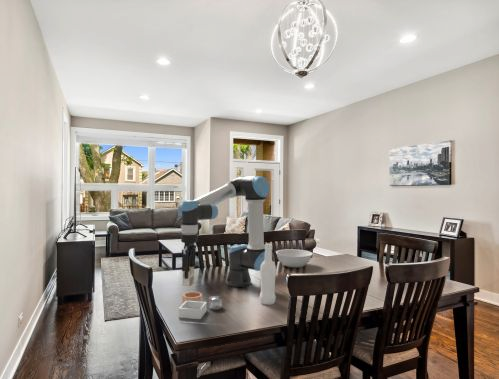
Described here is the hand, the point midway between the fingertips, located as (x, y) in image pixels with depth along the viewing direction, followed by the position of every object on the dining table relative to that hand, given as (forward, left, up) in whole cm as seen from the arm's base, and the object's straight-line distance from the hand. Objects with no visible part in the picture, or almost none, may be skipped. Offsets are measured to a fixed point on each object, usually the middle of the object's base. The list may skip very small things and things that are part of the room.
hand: (188, 283), depth 157 cm
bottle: (-36, -19, -13) cm, 42 cm away
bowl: (-49, -100, -13) cm, 112 cm away
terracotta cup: (0, -8, -13) cm, 16 cm away
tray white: (-4, +4, -13) cm, 14 cm away
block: (0, 0, 0) cm, 0 cm away
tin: (-12, -6, -13) cm, 19 cm away
